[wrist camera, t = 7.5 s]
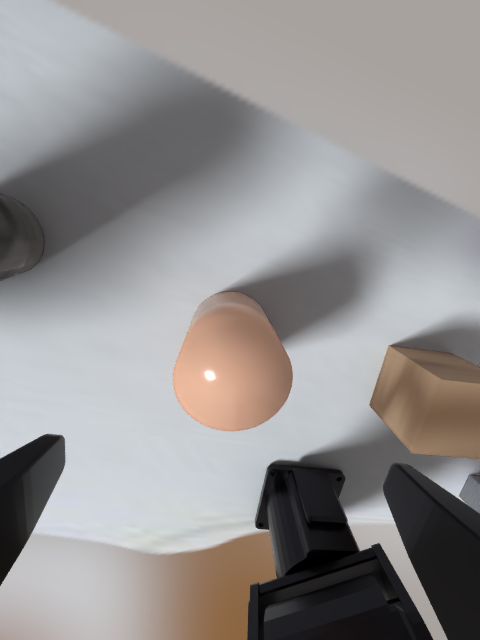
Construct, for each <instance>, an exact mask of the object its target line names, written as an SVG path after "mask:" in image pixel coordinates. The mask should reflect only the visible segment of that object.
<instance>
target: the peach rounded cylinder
mask: <svg viewBox="0 0 480 640" xmlns="http://www.w3.org/2000/svg"><path fill="white" fill-rule="evenodd" d="M292 380H293V373H292V366H291V362H290V359H289V357H288V355H287V353H286V351H285V349H284V347H283V345H282V344H281V342H280V340H279V338H278V336H277V335H276V333H275V331H274V329H273V327H272V326H271V324H270V322H269V320H268V318H267V317H266V315H265V313H264V311H263V310H262V308H261V306H260V305H259V304H258V303H257V302H256V301H255V300H254V299H252V298H251V297H249V296H247V295H245V294H242V293H238V292H222V293H218V294H215V295H213V296H211V297H209V298H207V299H206V300H205V301H204V302H202V303H201V305H200V306H199V307H198V308H197V310H196V312H195V314H194V316H193V319H192V321H191V324H190V326H189V329H188V332H187V334H186V337H185V339H184V342H183V345H182V347H181V350H180V352H179V355H178V358H177V360H176V363H175V367H174V372H173V386H174V391H175V395H176V397H177V399H178V401H179V403H180V405H181V406H182V408H183V409H184V410H185V411H186V413H187V414H188V415H190V416H191V417H192V418H193V419H194V420H196V421H197V422H199V423H201V424H203V425H205V426H207V427H210V428H213V429H217V430H223V431H240V430H245V429H250V428H253V427H256V426H258V425H260V424H262V423H264V422H266V421H267V420H269V419H270V418H271V417H273V416H274V415H275V414H276V413H277V412H278V411H279V410H280V409H281V407H282V406H283V405H284V403H285V402H286V400H287V398H288V396H289V393H290V390H291V387H292Z"/></svg>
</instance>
